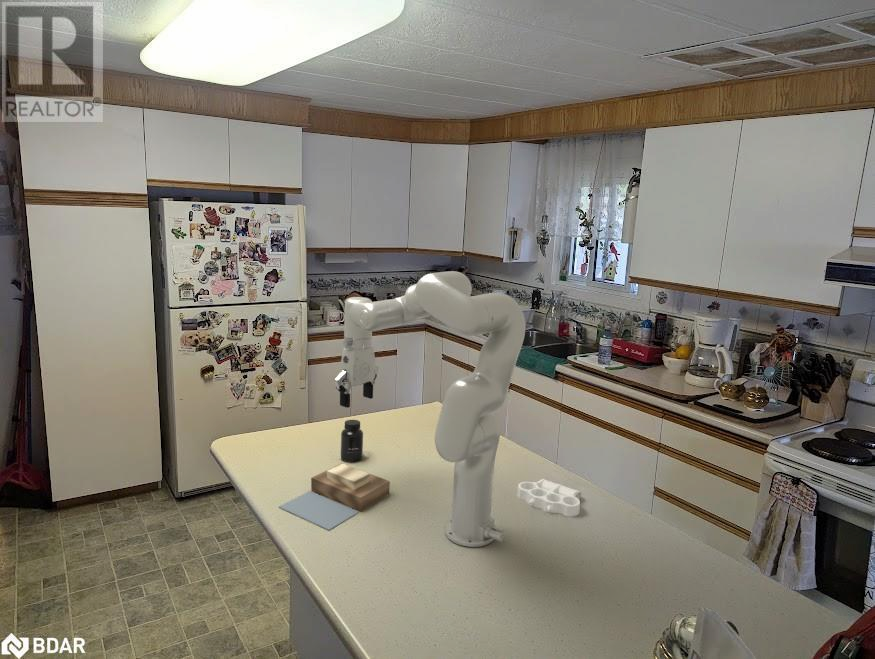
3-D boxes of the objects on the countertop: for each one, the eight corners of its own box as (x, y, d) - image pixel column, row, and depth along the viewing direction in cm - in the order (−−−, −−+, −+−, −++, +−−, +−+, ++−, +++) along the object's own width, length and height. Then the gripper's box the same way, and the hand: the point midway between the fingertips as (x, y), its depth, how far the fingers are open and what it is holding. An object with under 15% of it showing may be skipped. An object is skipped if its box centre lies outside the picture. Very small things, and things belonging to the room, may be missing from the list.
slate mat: (359, 512, 154) (359, 511, 154) (328, 530, 145) (328, 529, 145) (310, 491, 164) (310, 490, 164) (278, 507, 155) (278, 506, 155)
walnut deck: (389, 494, 164) (389, 481, 163) (360, 511, 154) (360, 497, 153) (341, 475, 174) (341, 463, 173) (311, 491, 164) (311, 477, 163)
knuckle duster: (591, 503, 165) (568, 524, 153) (533, 483, 175) (508, 501, 164) (592, 491, 164) (570, 512, 152) (534, 472, 174) (509, 490, 163)
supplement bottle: (351, 464, 181) (351, 427, 179) (336, 458, 185) (336, 422, 183) (367, 457, 187) (367, 421, 184) (351, 451, 191) (352, 416, 188)
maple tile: (369, 482, 162) (369, 473, 162) (354, 490, 157) (354, 481, 157) (342, 471, 167) (342, 463, 167) (327, 479, 163) (327, 470, 162)
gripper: (346, 350, 153) (345, 413, 157) (388, 339, 167) (386, 397, 171) (325, 345, 157) (325, 406, 161) (367, 335, 171) (366, 391, 175)
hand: (356, 401), depth 166 cm, fingers open, 9 cm apart
